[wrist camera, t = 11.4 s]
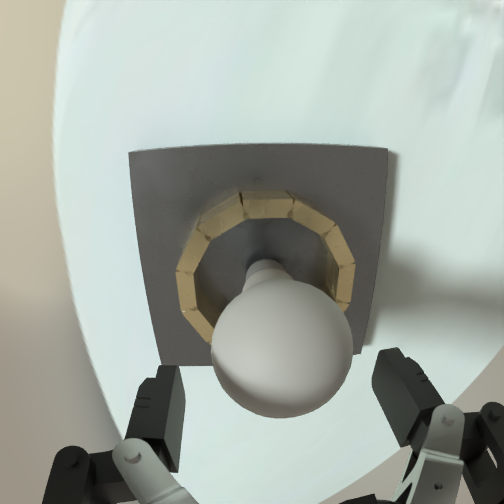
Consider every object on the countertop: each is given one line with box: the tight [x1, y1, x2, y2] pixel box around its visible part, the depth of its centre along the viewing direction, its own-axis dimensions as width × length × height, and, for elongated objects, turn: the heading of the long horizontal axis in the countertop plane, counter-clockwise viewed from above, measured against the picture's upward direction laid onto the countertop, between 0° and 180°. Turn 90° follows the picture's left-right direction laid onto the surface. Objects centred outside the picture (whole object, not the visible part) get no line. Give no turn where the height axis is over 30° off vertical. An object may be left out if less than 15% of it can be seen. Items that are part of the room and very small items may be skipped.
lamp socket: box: [128, 143, 388, 366], centre depth 20 cm, size 16×16×4 cm
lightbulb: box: [211, 259, 353, 418], centre depth 16 cm, size 6×6×11 cm
